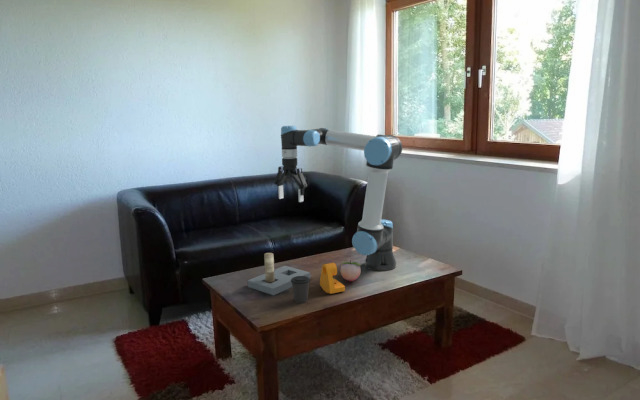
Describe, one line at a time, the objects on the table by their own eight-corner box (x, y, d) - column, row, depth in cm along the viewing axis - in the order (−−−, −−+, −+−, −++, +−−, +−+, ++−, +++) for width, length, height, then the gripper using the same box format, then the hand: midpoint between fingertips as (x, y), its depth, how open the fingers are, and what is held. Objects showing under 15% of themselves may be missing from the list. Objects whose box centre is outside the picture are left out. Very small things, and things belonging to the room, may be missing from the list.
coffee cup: (313, 302, 196) (313, 279, 194) (294, 306, 193) (293, 282, 191) (307, 295, 203) (306, 272, 201) (288, 298, 201) (288, 275, 199)
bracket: (345, 292, 206) (345, 265, 203) (330, 295, 203) (329, 268, 200) (334, 284, 215) (334, 258, 213) (319, 286, 212) (319, 260, 210)
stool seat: (285, 271, 232) (285, 265, 232) (310, 278, 222) (310, 272, 221) (247, 286, 214) (247, 280, 214) (273, 295, 204) (273, 288, 203)
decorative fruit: (340, 285, 214) (340, 263, 212) (340, 278, 222) (340, 257, 220) (361, 285, 213) (361, 263, 211) (360, 278, 221) (360, 257, 219)
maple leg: (277, 286, 214) (275, 253, 211) (270, 289, 211) (268, 256, 208) (270, 284, 217) (268, 252, 213) (263, 287, 213) (261, 254, 210)
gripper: (266, 156, 242) (268, 198, 246) (303, 160, 226) (304, 204, 231) (276, 155, 248) (278, 196, 252) (313, 158, 232) (314, 201, 236)
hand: (291, 200), depth 241 cm, fingers open, 13 cm apart
